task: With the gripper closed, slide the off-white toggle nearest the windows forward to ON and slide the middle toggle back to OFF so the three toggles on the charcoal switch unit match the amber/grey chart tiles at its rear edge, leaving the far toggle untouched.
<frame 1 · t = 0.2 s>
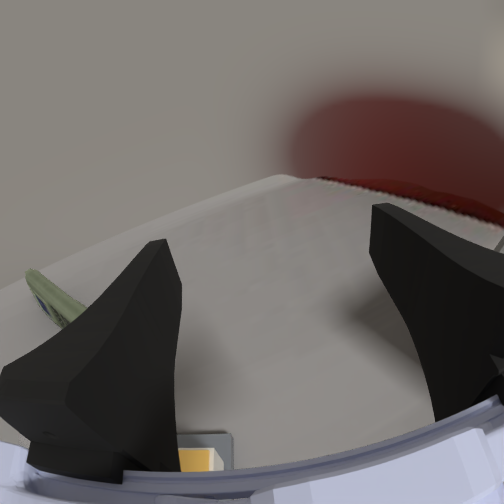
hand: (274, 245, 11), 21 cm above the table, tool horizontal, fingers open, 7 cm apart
handheld radio: (64, 320, 42), on the table
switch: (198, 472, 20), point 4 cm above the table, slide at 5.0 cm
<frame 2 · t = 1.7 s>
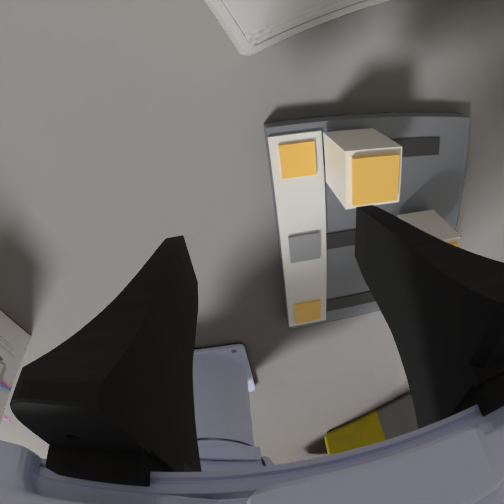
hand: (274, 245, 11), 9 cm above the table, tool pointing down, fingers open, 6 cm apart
switch mid: (426, 245, 19), point 4 cm above the table, slide at 5.0 cm
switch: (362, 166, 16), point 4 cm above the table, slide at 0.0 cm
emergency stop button: (356, 433, 46), on the table
ink cartridge box: (3, 333, 26), on the table
switch unit: (373, 223, 22), on the table
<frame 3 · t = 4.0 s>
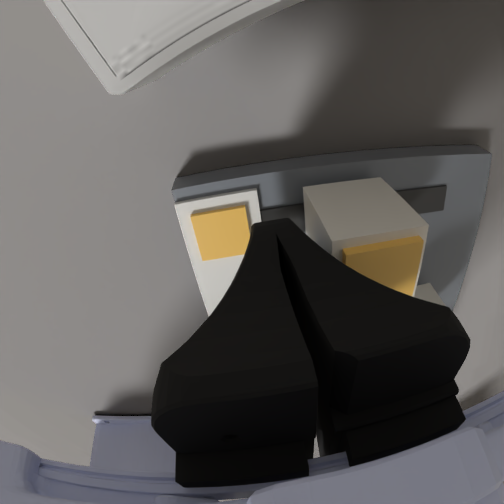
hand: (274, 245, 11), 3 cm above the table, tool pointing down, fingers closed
switch mid: (414, 336, 14), point 4 cm above the table, slide at 5.0 cm
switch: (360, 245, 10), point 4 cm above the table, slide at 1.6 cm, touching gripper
switch unit: (346, 297, 17), on the table
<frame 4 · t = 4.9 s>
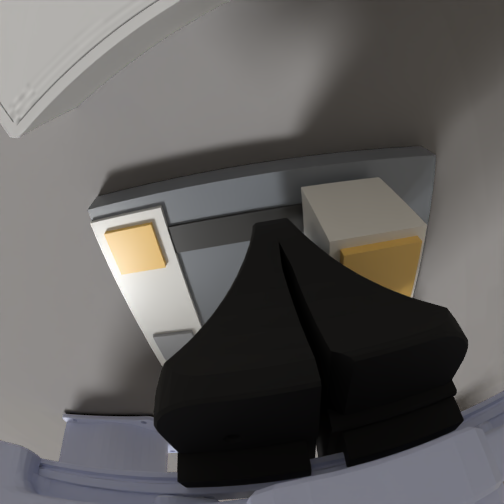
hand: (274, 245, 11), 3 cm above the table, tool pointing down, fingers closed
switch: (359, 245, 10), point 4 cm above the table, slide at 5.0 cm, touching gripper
switch unit: (282, 309, 17), on the table
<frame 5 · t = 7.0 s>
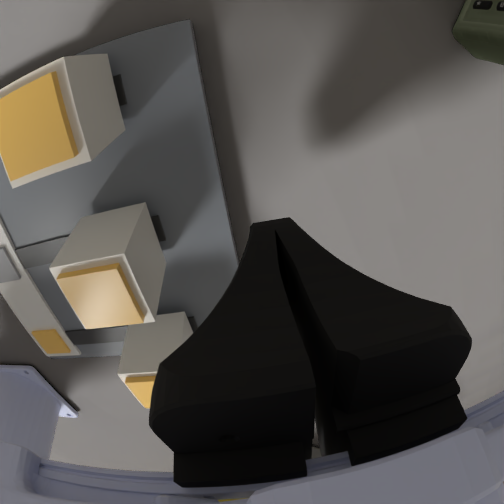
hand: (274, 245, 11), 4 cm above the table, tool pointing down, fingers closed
switch mid: (112, 267, 11), point 4 cm above the table, slide at 5.0 cm
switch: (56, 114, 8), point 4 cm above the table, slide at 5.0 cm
switch unit: (87, 231, 14), on the table
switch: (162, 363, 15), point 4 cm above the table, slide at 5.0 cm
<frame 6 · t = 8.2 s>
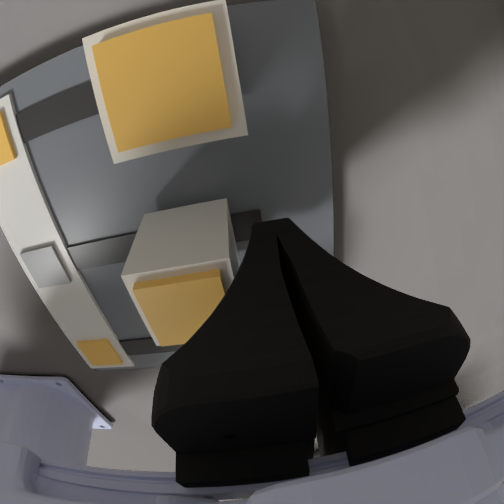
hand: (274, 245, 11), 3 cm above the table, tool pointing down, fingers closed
switch mid: (190, 273, 10), point 4 cm above the table, slide at 4.1 cm, touching gripper
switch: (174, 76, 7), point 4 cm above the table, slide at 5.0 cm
switch unit: (160, 226, 13), on the table
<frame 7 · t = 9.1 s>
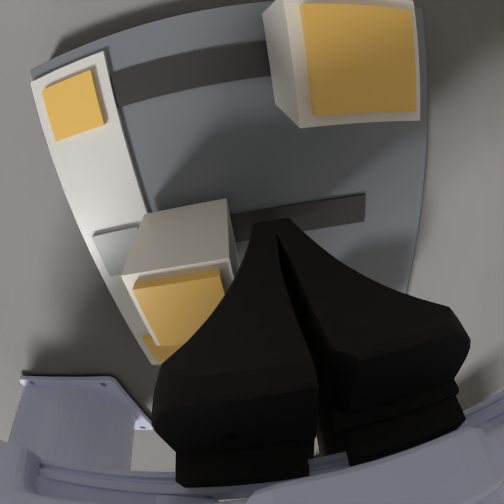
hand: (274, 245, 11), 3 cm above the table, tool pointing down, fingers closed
switch mid: (190, 273, 10), point 4 cm above the table, slide at 0.0 cm, touching gripper
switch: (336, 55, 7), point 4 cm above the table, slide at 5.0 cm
switch unit: (256, 208, 13), on the table
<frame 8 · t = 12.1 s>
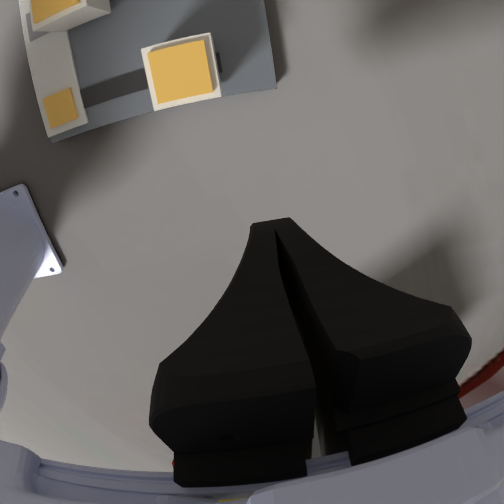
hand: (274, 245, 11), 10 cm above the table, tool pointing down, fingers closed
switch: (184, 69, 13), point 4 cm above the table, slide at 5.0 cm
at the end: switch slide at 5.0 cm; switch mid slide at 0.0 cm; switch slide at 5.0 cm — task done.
